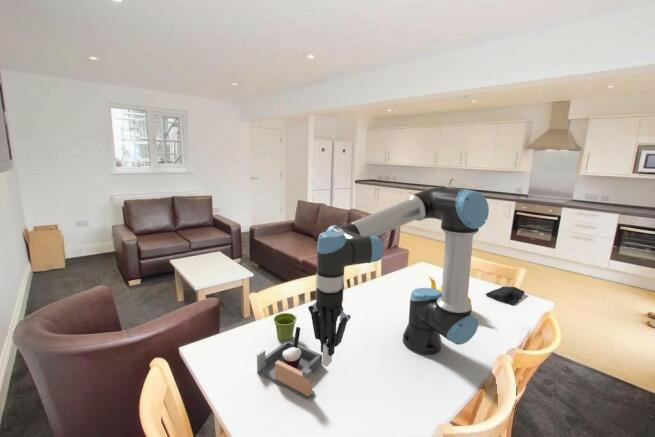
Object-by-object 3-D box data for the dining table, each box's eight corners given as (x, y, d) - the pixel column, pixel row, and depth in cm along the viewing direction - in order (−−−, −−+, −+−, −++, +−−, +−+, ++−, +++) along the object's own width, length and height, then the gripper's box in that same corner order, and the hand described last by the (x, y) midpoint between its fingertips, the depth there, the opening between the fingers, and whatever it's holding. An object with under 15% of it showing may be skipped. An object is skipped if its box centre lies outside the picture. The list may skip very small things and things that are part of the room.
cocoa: (287, 375, 106) (286, 344, 103) (276, 365, 111) (275, 336, 108) (308, 362, 113) (308, 333, 110) (297, 353, 117) (297, 325, 114)
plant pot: (300, 334, 132) (300, 315, 131) (290, 346, 123) (290, 326, 122) (280, 329, 135) (280, 311, 133) (269, 341, 126) (269, 322, 125)
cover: (312, 393, 98) (312, 370, 96) (308, 397, 96) (308, 374, 95) (278, 375, 105) (278, 354, 104) (274, 379, 104) (274, 357, 102)
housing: (335, 371, 110) (336, 353, 109) (308, 400, 96) (308, 380, 95) (287, 349, 122) (287, 333, 120) (257, 372, 108) (256, 354, 107)
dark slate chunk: (529, 296, 176) (530, 288, 175) (512, 307, 163) (513, 298, 162) (501, 287, 188) (502, 279, 187) (482, 296, 174) (483, 288, 174)
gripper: (356, 288, 86) (352, 365, 91) (318, 277, 93) (316, 349, 98) (343, 298, 80) (339, 379, 85) (302, 286, 87) (301, 361, 91)
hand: (327, 363), depth 91 cm, fingers closed
